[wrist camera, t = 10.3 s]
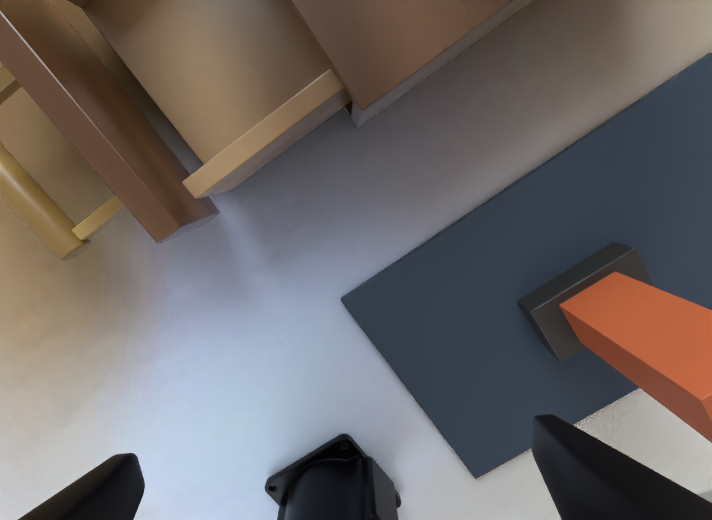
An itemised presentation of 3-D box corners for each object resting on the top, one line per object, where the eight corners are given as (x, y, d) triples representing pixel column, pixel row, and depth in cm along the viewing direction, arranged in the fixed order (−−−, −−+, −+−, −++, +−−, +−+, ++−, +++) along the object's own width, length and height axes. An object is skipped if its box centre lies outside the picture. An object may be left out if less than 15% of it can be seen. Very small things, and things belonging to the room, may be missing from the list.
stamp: (545, 348, 21) (694, 487, 12) (516, 301, 21) (652, 411, 11) (640, 292, 21) (874, 395, 11) (613, 240, 20) (843, 307, 11)
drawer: (130, 278, 19) (66, 313, 15) (-39, 91, 17) (-177, 65, 12) (423, 62, 17) (449, 26, 13) (276, -190, 15) (245, -344, 10)
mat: (473, 474, 24) (475, 479, 24) (340, 297, 21) (340, 300, 20) (800, 290, 21) (809, 292, 21) (708, 53, 18) (716, 51, 18)
